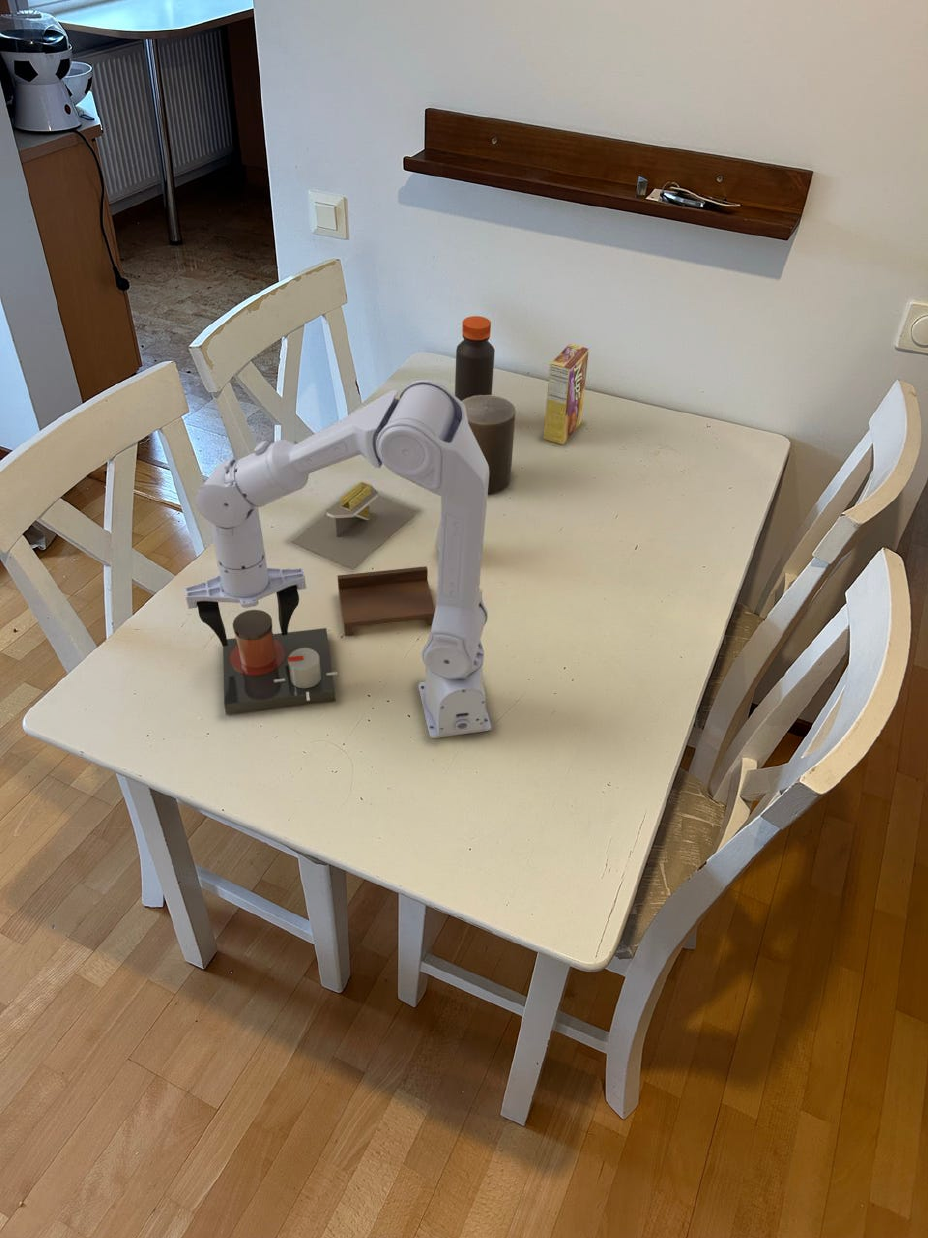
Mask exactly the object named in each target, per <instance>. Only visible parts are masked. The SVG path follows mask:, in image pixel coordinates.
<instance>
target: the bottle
mask: <svg viewBox="0 0 928 1238" xmlns="http://www.w3.org/2000/svg"><path fill="white" fill-rule="evenodd" d="M461 330H462V331H461V333H462V338H463V340H462V341H461V342H459V344H458V345H457V346H456V350H455V379H454V395H455V396H456V397H457V398H458V399H459V400H460V401H462V400H464V399H466V398H469V397H472V396H478V395H493V383H494V366H495V365H494V364H495V348H494V346H493V344H491V342H490V341H489V340H490V338H491V330H492V322H491V320H490V319H489V318H486V317H485V316H479V315H473V316H472V315H471V316H468V317H466V318H464V319H463V320H462V329H461Z"/></svg>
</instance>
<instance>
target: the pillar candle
mask: <svg viewBox="0 0 928 1238" xmlns="http://www.w3.org/2000/svg"><path fill="white" fill-rule="evenodd" d="M461 402H463V403H464V404H465V409H466V414H467V420H468V424H469V426H470V428H471V430H472V432H473V435H474V437H475V439H476V441H477V443H478V445H479V447H480V449H481V451H482V453H483V455H484V457H485V459H486V461H487V463H488V466H489V484H488V495H493V494H498V493H501V492H502V491H504V490H506V489H507V488H508V487H509V486H510V484H511V479H512V478H511V477H512V476H511V475H512V467H513V464H512V463H513V454H514V453H513V451H514V440H515V439H514V436H515V424H516V407H515V405H514V404H513V403H512V402H511V401H510V400H508V399H506V398H504V397H501V396H499V395H494V394H492V395H478V396H472V397H469V398H466V399H464V400H462V401H461Z"/></svg>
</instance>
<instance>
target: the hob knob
mask: <svg viewBox="0 0 928 1238" xmlns="http://www.w3.org/2000/svg"><path fill="white" fill-rule="evenodd" d="M288 665H289V673H290V680H291V682H292V684H293V685H295V686H296V687H299V688H311V687H313V686H315V685H317V684H318V683H319V681H320V680H321V668H320V659H319V654H318V653H317V652H316V651H315V650H313V649H310V648H300V649H297V650H295V651H293V652H292V653H291V654H290V655H289V657H288Z"/></svg>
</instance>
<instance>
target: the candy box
mask: <svg viewBox="0 0 928 1238" xmlns="http://www.w3.org/2000/svg"><path fill="white" fill-rule="evenodd" d="M589 352H590V348H587V347H584V346H581V345H576V344H572V343H568V345H567V346H566V347H565V348H564V349H563V350H562V351H561V352H560V353H559V354H558V355H557V356H556V357H555V358H554V359H553V360H552V361H551V363H550V364H549V373H548V382H547V383H548V385H547V395H546V406H545V416H544V418H545V419H544V428H543V429H544V430H543V440H545V441H548V442H551V443H556V444H559V445H564V444H565V442H566V441H567V440H568V439H569V438H570V437H571V435H572V434H573V433H574V432H575V430H576V429H577V428H578V427H579V426H580V424H581V423H582V414H583V405H584V397H585V388H586V379H587V370H588V360H589Z"/></svg>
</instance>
